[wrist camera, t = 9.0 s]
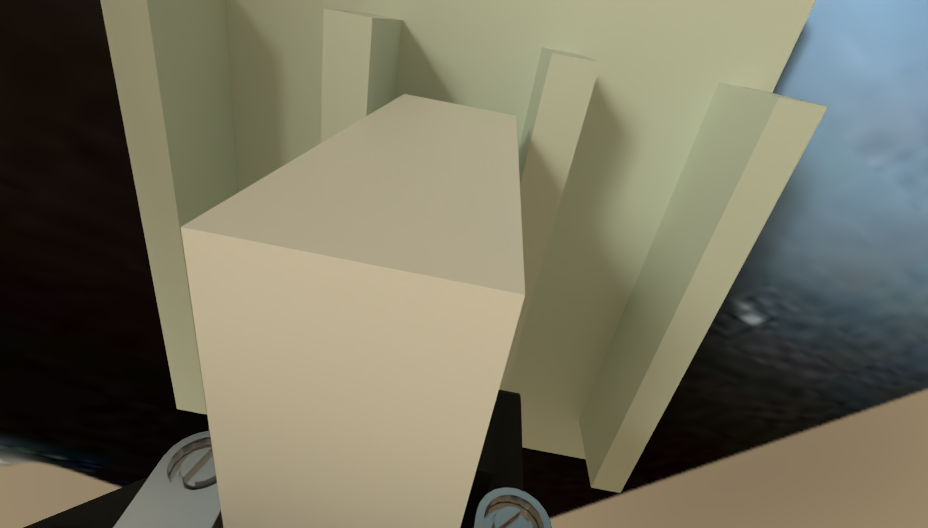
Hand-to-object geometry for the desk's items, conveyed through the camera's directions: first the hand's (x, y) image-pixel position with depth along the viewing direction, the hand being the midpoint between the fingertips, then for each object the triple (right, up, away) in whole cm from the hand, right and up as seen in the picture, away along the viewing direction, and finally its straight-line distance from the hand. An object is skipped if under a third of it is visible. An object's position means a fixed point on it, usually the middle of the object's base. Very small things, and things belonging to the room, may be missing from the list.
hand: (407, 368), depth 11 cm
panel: (0, +2, +3) cm, 4 cm away
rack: (+1, +4, +7) cm, 8 cm away
